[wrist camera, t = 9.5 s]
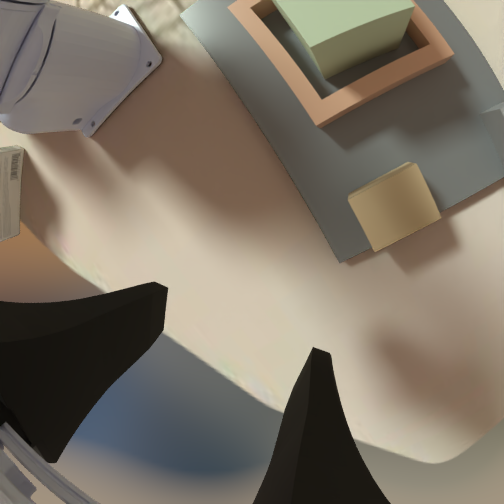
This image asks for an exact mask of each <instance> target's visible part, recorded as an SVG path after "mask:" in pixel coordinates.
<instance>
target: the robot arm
mask: <svg viewBox="0 0 504 504" xmlns="http://www.w3.org/2000/svg"><path fill="white" fill-rule="evenodd" d="M118 13H119V14H118ZM161 61H162V57H161V55H160V53H159V52H158V50H157V49H156V47H155V46H154V44H153V43H152V41H151V40H150V38H149V37H148V35H147V34H146V32H145V31H144V29H143V28H142V26H141V25H140V23H139V22H138V21H137V19H136V18H135V16H134V15H133V13H132V12H131V10H130V9H129V7H128V6H127V5H125V4H122V5H120V6H119V7H118V8H117V9H116V10H115V11H114V12H113V13H112V14H111V15H110V16H109V17H107V16H104V15H101V14H98V13H95V12H92V11H89V10H86V9H82V8H79V7H75V6H72V5H68V4H64V3H61V2H57V1H53V0H0V121H1V122H2V124H3V125H5V126H6V127H7V128H9V129H11V130H13V131H16V132H19V133H24V134H35V133H46V132H58V131H73V130H82V132H83V135H84V136H85V137H91V136H92V135H93V134H94V132H95V131H96V130H97V129H98V128H99V126H100V125H101V124H102V123H103V122H104V121H105V120H106V118H107V117H108V116H109V115H110V114H111V113H112V112H113V111H114V110H115V108H116V107H117V106H118V105H119V104H120V103H121V102H122V101H123V100H124V99H125V98H126V97H127V96H128V95H129V94H130V93H131V92H132V91H133V90H134V89H135V88H136V87H137V86H138V85H139V84H140V83H141V82H142V81H143V80H144V79H145V78H146V77H147V76H148V75H149V74H150V73H151V72H152V71H153V70H154V69H155V68H156V67H158V66H159V65H160V63H161ZM151 62H152V65H151V66H150V67H149V64H150V63H151ZM94 123H95V125H94ZM167 293H168V288H167V287H165V286H163V285H161V284H159V283H157V282H150V283H146V284H141V285H137V286H134V287H130V288H126V289H122V290H118V291H114V292H110V293H106V294H102V295H97V296H92V297H88V298H83V299H77V300H70V301H62V302H51V303H15V302H4V301H0V504H36V503H35V502H34V501H32V500H31V498H30V497H31V495H32V494H33V493H34V492H35V491H36V487H35V486H34V485H33V484H32V483H31V482H30V481H29V480H28V479H27V478H26V477H25V476H24V474H23V473H22V472H21V471H20V470H19V469H18V467H17V466H16V465H15V463H14V462H13V461H12V460H11V459H10V458H9V457H8V456H7V454H6V453H5V452H4V451H3V449H4V446H5V447H6V448H7V449H8V450H9V451H10V452H11V453H12V455H13V456H14V457H15V458H16V459H17V460H18V461H19V462H20V463H21V464H22V465H23V466H24V467H25V468H26V469H27V470H28V471H29V472H31V474H33V475H34V476H35V477H36V478H37V479H38V480H39V481H40V482H41V483H42V484H43V485H44V486H46V487H47V488H48V489H49V490H50V491H51V492H53V493H54V494H55V495H56V496H58V497H59V498H60V499H61V500H62V501H64V502H65V503H66V504H100V503H98V502H97V501H95V500H94V499H93V498H91V497H90V496H88V495H87V494H86V493H84V492H83V491H82V490H80V489H79V488H78V487H76V486H75V485H74V484H72V483H71V482H70V481H68V480H67V479H66V478H65V477H63V476H62V475H61V474H60V473H59V472H58V471H56V470H55V469H54V468H53V467H52V466H51V465H49V464H48V463H56V462H57V461H58V459H59V457H60V455H61V454H62V452H63V450H64V449H65V447H66V445H67V443H68V442H69V440H70V439H71V437H72V436H73V434H74V433H75V431H76V430H77V428H78V427H79V425H80V424H81V423H82V421H83V420H84V418H85V417H86V416H87V414H88V413H89V412H90V410H91V409H92V408H93V406H94V405H95V404H96V403H97V401H98V400H99V399H100V398H101V397H102V395H103V394H104V393H105V391H106V390H107V389H108V388H109V387H110V386H111V385H112V384H113V383H114V382H115V381H116V380H117V379H118V378H119V377H120V376H121V375H122V374H123V373H124V372H126V371H127V369H128V368H130V367H131V366H132V365H133V364H134V363H135V362H136V361H137V360H138V359H139V358H140V357H141V356H142V355H143V354H144V353H145V352H146V351H147V350H148V349H149V348H150V347H151V346H152V344H153V343H154V342H155V341H156V339H157V338H158V337H159V335H160V334H161V333H162V331H163V330H164V320H165V311H166V302H167ZM3 445H4V446H3ZM253 504H391V503H390V502H389V501H388V500H387V499H386V497H385V496H384V494H383V493H382V491H381V490H380V488H379V487H378V485H377V484H376V482H375V481H374V479H373V478H372V476H371V474H370V472H369V470H368V468H367V467H366V465H365V463H364V461H363V459H362V457H361V455H360V453H359V451H358V449H357V447H356V444H355V442H354V440H353V437H352V435H351V432H350V429H349V427H348V424H347V421H346V418H345V415H344V412H343V408H342V405H341V401H340V397H339V393H338V390H337V385H336V381H335V376H334V371H333V365H332V358H331V355H330V353H328V352H325V351H323V350H320V349H317V348H314V347H313V348H312V351H311V353H310V355H309V357H308V359H307V361H306V363H305V365H304V367H303V369H302V371H301V373H300V375H299V377H298V379H297V381H296V383H295V385H294V387H293V390H292V392H291V395H290V398H289V400H288V403H287V406H286V408H285V411H284V415H283V419H282V423H281V426H280V430H279V434H278V438H277V441H276V445H275V448H274V452H273V455H272V459H271V462H270V465H269V468H268V470H267V473H266V475H265V478H264V480H263V482H262V485H261V487H260V489H259V491H258V493H257V496H256V498H255V500H254V502H253Z"/></svg>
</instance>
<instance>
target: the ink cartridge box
mask: <svg viewBox="0 0 504 504" xmlns="http://www.w3.org/2000/svg"><path fill="white" fill-rule="evenodd" d="M23 157H24V149H23V148H21V147H19V146H17V145H16V146H9V147H2V148H0V242H1V241H4V240H6V239H9V238H12V237H15V236H17V235H19V234H20V194H21V178H22V167H23Z"/></svg>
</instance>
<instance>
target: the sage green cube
mask: <svg viewBox="0 0 504 504" xmlns="http://www.w3.org/2000/svg"><path fill="white" fill-rule="evenodd" d="M272 1H273V3H274V4H275V6H276V7H277V9H278V10H279V12H280V14H281V15H282V17H283V18H284V19H285V21H286V22H287V24H288V25H289V26H290V28H291V29H292V30H293V32H294V33H295V35H296V36H297V38H298V39H299V41H300V42H301V43H302V45H303V46H304V48H305V49H306V51H307V52H308V54H309V55H310V57H311V59H312V60H313V62H314V63H315V65H316V66H317V68H318V70H319V71H320V73H321V74H322V76H323V78H324V79H327V78H329V77H332V76H334V75H336V74H338V73H340V72H342V71H345V70H347V69H349V68H351V67H354V66H356V65H358V64H361V63H363V62H365V61H368V60H370V59H372V58H375V57H377V56H380V55H382V54H385V53H387V52H390V51H392V50H395V49H398V48H399V45H400V43H401V40H402V38H403V36H404V33H405V31H406V28H407V26H408V23H409V20H410V18H411V15H412V13H413V10H414V8H415V5H414V4H413V3H412V1H411V0H272Z"/></svg>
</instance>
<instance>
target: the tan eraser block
mask: <svg viewBox="0 0 504 504" xmlns="http://www.w3.org/2000/svg"><path fill="white" fill-rule="evenodd" d="M348 202H349V203H350V205H351V207H352V209H353V211H354V213H355V215H356V217H357V218H358V220H359V222H360V224H361V226H362V228H363V230H364V232H365V234H366V236H367V238H368V240H369V242H370V244H371V246H372V248H373V250H374V252H376V251H378V250H380V249H382V248H384V247H386V246H389V245H391V244H393V243H395V242H396V241H398V240H400V239H402V238H404V237H406V236H408V235H410V234H412V233H414V232H416V231H418V230H420V229H422V228H424V227H426V226H428V225H430V224H431V223H433V222H435V221H437V220H439V219H441V216H440V213H439V211H438V208H437V206H436V204H435V201H434V199H433V197H432V195H431V193H430V190H429V188H428V186H427V184H426V182H425V180H424V178H423V176H422V173H421V171H420V169H419V167H418V165H417V164H416V163H412V162H406V163H405V164H403V165H401V166H399V167H397V168H395V169H393V170H391V171H390V172H388V173H386V174H384V175H382V176H380V177H378V178H376V179H375V180H373V181H371V182H369V183H367V184H365V185H363V186H362V187H360V188H358V189H356V190H354V191H352V192H350V193H349V194H348Z"/></svg>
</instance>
